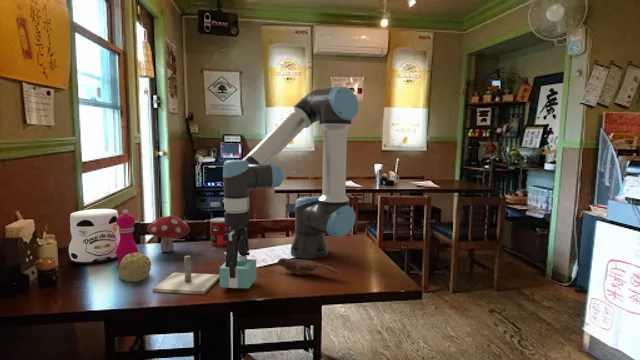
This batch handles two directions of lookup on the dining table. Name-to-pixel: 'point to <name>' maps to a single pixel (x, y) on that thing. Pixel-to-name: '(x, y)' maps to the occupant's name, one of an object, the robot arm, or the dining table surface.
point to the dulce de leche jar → (94, 236)
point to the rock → (134, 267)
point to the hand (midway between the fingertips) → (238, 281)
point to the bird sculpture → (303, 266)
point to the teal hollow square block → (240, 273)
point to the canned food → (218, 232)
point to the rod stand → (187, 281)
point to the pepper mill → (125, 236)
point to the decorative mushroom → (168, 230)
